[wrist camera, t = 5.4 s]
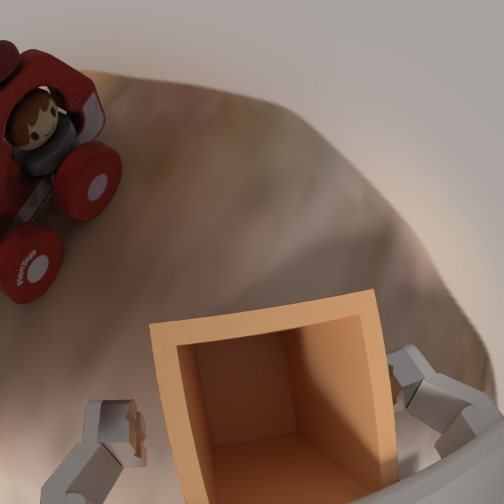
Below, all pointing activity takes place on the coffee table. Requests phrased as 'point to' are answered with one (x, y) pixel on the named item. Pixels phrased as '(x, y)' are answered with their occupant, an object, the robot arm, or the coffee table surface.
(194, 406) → the box
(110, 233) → the coffee table surface
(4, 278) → the toy fire truck
